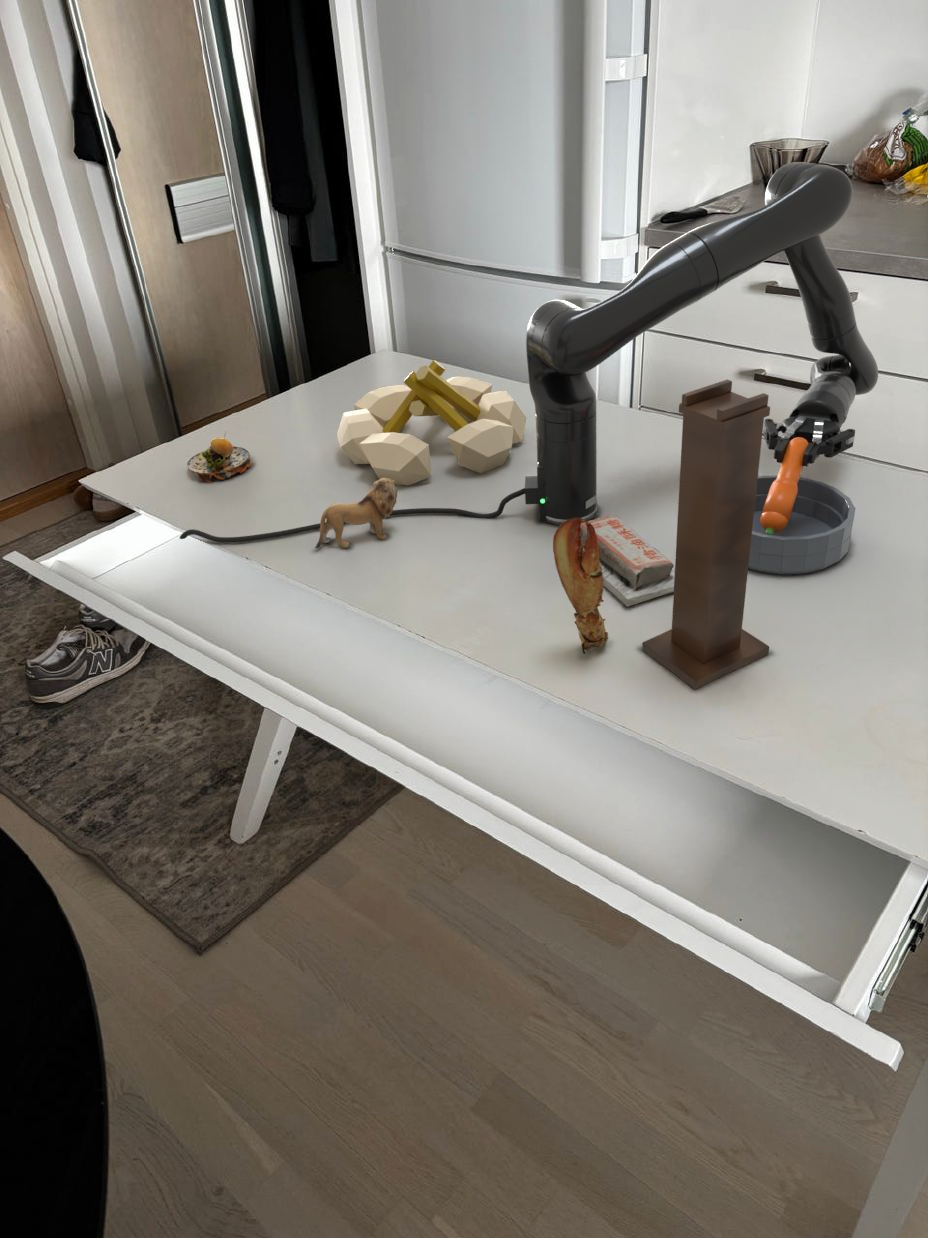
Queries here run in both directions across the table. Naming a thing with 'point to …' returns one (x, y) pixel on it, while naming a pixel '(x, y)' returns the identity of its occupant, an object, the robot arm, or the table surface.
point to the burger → (219, 460)
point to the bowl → (803, 530)
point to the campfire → (428, 394)
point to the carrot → (784, 488)
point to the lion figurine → (360, 512)
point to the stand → (713, 536)
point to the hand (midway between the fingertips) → (792, 458)
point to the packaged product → (630, 562)
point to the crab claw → (581, 579)
